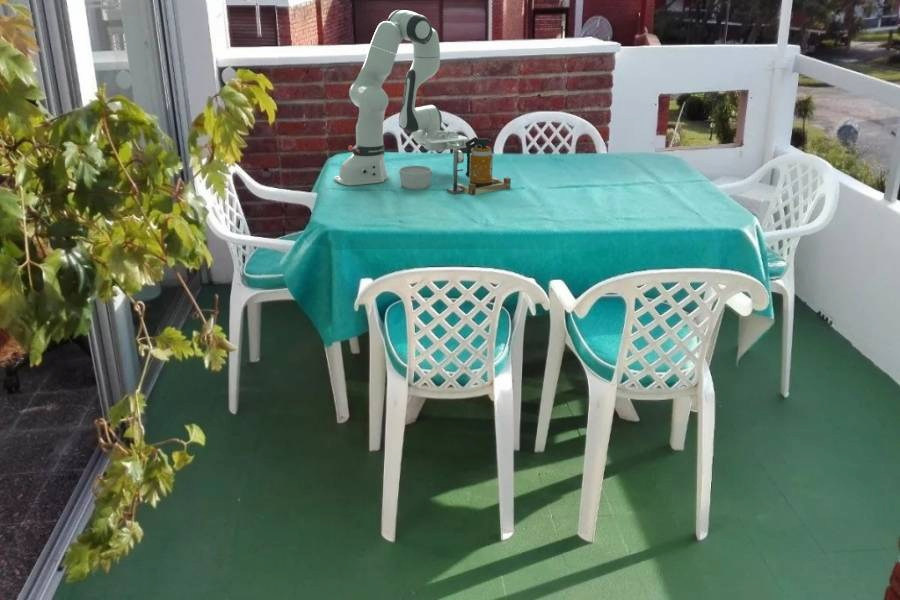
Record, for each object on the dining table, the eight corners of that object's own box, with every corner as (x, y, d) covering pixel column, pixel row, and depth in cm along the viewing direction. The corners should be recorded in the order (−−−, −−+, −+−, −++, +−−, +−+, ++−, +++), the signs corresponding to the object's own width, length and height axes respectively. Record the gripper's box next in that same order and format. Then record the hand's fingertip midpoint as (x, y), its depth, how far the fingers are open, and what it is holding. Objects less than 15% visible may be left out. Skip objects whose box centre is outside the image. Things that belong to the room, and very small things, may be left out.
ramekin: (427, 191, 335) (427, 174, 332) (395, 189, 337) (395, 172, 334) (434, 183, 347) (434, 166, 344) (403, 181, 349) (403, 164, 346)
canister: (491, 189, 338) (493, 140, 330) (464, 189, 338) (465, 139, 331) (491, 183, 346) (493, 135, 338) (465, 183, 347) (465, 134, 339)
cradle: (452, 187, 340) (452, 178, 338) (491, 180, 350) (491, 171, 349) (471, 195, 330) (471, 185, 329) (510, 187, 340) (510, 178, 339)
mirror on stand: (453, 194, 331) (453, 151, 324) (446, 191, 335) (446, 148, 328) (465, 192, 334) (466, 149, 327) (458, 189, 338) (459, 146, 331)
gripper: (418, 135, 351) (436, 141, 340) (458, 131, 362) (477, 137, 351) (417, 150, 353) (436, 156, 343) (457, 146, 364) (476, 152, 354)
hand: (457, 147), depth 347 cm, fingers closed
